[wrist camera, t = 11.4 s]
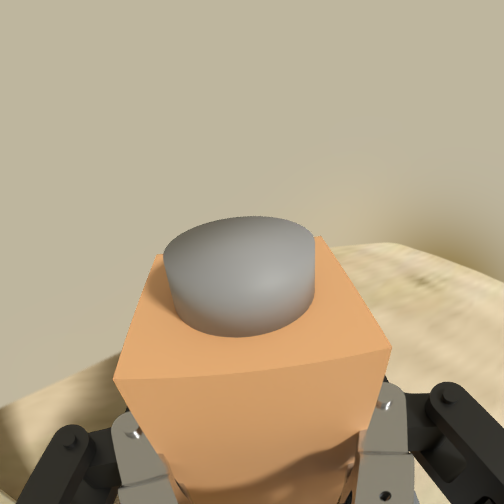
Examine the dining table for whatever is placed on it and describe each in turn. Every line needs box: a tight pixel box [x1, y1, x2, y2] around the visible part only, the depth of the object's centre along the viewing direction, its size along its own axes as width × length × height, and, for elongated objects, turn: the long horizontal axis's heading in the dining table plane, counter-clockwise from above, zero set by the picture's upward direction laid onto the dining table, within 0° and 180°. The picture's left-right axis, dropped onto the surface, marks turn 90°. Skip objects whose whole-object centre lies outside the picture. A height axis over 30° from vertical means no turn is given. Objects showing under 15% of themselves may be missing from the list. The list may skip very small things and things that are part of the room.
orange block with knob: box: [113, 216, 392, 504], centre depth 9 cm, size 5×5×11 cm
